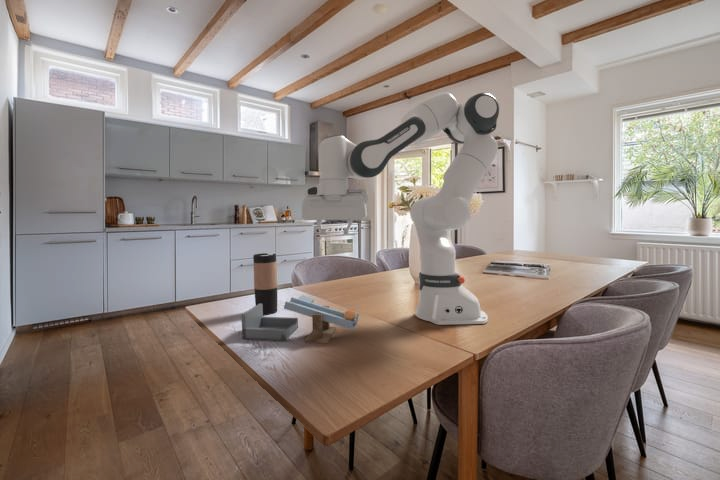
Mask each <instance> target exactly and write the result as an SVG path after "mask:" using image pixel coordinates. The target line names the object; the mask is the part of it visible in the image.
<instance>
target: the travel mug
mask: <svg viewBox="0 0 720 480" xmlns="http://www.w3.org/2000/svg"><path fill="white" fill-rule="evenodd" d="M252 259H253V288H254V300H255V301H254V302H255V305H254V306H256V305H258V304H263V316H266V315H273V314H276V313H277V312H278V276H277V275H278V273H277V269H278V268H277V255H276V253H273V254H268V253H264V252H263V253H255V254H253V257H252Z"/></svg>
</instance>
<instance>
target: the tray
mask: <svg viewBox="0 0 720 480" xmlns="http://www.w3.org/2000/svg"><path fill="white" fill-rule="evenodd" d="M240 316H241V335H242V337H241V338H242V340H243V341H244V340H245V341H246V340H247V341H249V340H250V341H265V342H266V341H267V342H285V341H287V339H289V338H290V337H291V336H292V335H293V334H294V333H295V332H296V330H298V329H299V318H298V317H280V316H264V315H263V304H258V305H254V306H253V307H251V308H250V309H248V310H246V311H244V312H243V313H241V315H240Z"/></svg>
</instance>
